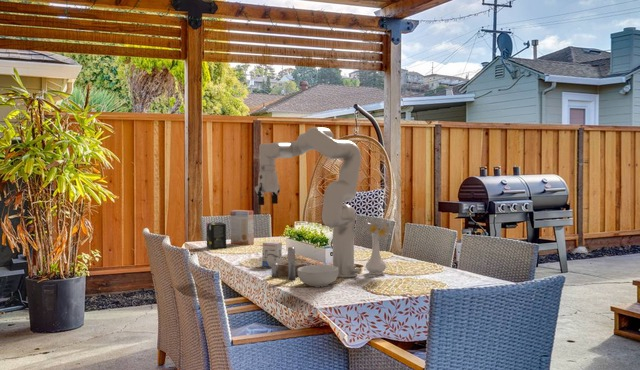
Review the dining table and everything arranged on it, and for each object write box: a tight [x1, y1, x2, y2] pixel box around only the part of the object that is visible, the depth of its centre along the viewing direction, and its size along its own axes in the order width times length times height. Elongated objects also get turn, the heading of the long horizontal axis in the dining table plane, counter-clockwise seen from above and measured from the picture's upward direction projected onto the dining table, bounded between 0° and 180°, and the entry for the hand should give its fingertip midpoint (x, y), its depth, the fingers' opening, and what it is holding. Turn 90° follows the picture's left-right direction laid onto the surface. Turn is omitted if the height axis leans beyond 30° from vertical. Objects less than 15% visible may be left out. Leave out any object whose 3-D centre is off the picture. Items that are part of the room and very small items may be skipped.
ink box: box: [261, 240, 283, 268], centre depth 290 cm, size 9×5×12 cm, turn 62°
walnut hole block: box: [278, 261, 305, 278], centre depth 266 cm, size 10×8×5 cm
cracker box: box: [229, 209, 255, 246], centre depth 367 cm, size 14×6×21 cm, turn 58°
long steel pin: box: [287, 246, 296, 281], centre depth 255 cm, size 3×3×14 cm
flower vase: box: [360, 217, 393, 276], centre depth 267 cm, size 13×18×25 cm
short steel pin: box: [270, 263, 279, 278], centre depth 262 cm, size 3×3×6 cm
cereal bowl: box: [297, 264, 339, 288], centre depth 244 cm, size 17×17×7 cm
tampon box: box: [206, 221, 227, 250], centre depth 352 cm, size 11×9×15 cm
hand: (268, 204), depth 288 cm, fingers open, 9 cm apart
